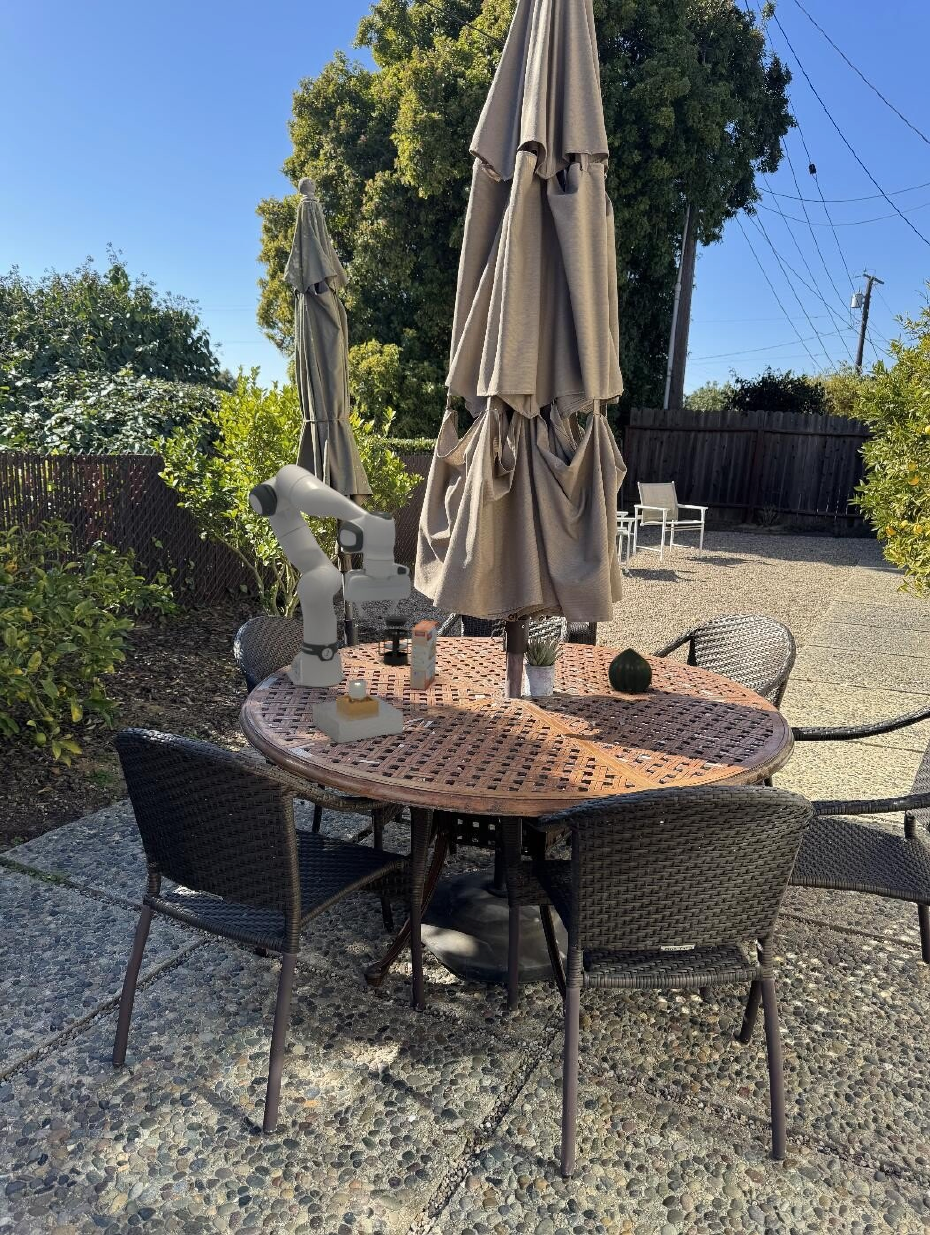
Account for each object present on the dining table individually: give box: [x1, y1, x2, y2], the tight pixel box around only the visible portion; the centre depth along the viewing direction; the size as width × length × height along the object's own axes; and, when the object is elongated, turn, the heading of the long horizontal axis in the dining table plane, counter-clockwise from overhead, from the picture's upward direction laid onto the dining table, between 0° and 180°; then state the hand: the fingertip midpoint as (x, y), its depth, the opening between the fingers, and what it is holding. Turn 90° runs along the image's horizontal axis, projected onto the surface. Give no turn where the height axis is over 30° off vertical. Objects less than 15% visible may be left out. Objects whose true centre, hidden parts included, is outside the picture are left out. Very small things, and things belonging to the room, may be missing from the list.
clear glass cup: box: [348, 679, 368, 704], centre depth 249 cm, size 5×5×8 cm
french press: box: [377, 601, 409, 667], centre depth 318 cm, size 12×9×23 cm
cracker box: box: [409, 620, 438, 691], centre depth 293 cm, size 14×6×21 cm, turn 168°
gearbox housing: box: [312, 692, 404, 744], centre depth 250 cm, size 18×20×9 cm
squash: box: [607, 647, 653, 694], centre depth 298 cm, size 14×15×15 cm
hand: (376, 615), depth 251 cm, fingers open, 8 cm apart
